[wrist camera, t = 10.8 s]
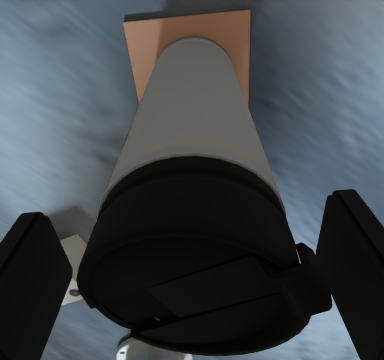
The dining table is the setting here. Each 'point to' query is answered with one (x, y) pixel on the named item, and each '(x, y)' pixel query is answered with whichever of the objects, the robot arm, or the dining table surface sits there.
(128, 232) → the travel mug
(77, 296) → the die
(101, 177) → the dining table surface
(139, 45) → the game board
